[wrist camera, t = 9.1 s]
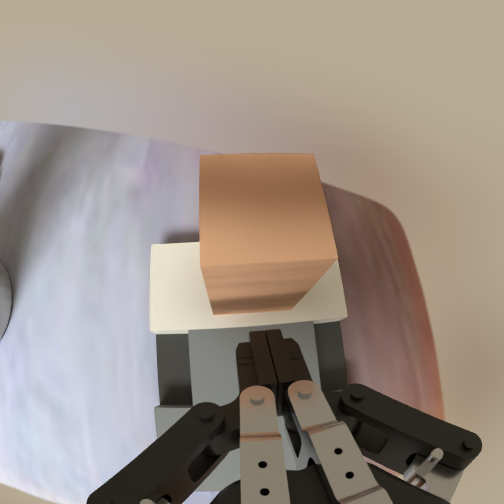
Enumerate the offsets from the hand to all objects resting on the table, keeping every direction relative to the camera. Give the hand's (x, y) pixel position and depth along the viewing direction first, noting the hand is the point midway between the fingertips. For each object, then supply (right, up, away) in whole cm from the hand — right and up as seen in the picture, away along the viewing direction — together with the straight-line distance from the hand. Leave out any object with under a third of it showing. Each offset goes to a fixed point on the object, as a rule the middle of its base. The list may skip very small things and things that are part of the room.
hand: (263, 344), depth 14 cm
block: (-1, +3, +6) cm, 7 cm away
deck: (0, -6, +4) cm, 7 cm away
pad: (-1, +2, +7) cm, 8 cm away
